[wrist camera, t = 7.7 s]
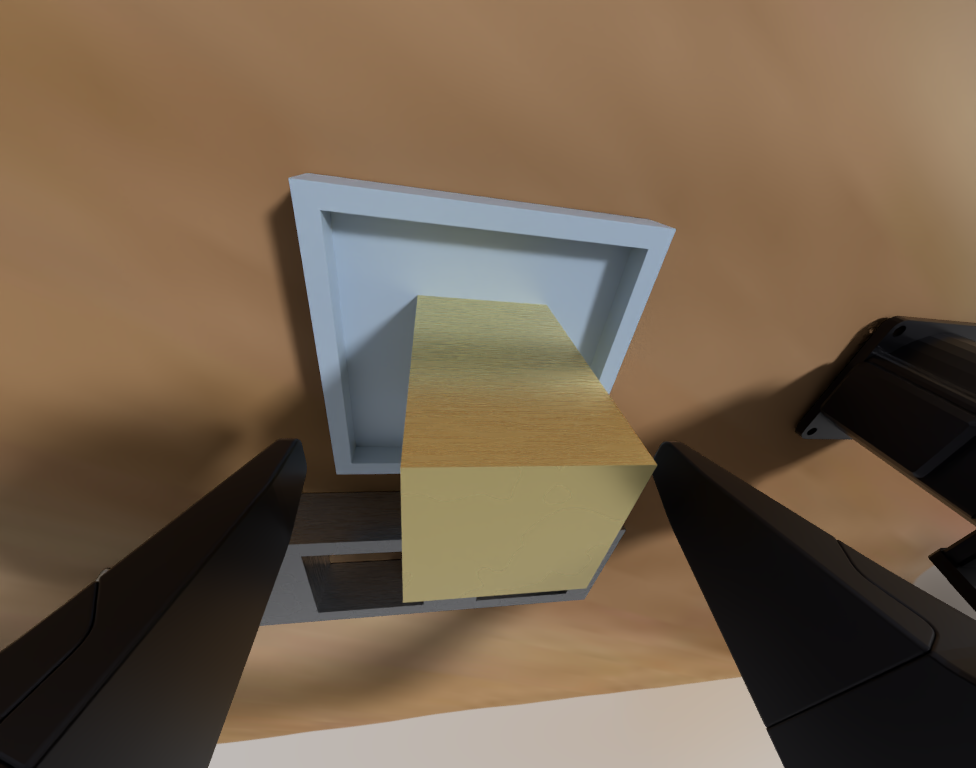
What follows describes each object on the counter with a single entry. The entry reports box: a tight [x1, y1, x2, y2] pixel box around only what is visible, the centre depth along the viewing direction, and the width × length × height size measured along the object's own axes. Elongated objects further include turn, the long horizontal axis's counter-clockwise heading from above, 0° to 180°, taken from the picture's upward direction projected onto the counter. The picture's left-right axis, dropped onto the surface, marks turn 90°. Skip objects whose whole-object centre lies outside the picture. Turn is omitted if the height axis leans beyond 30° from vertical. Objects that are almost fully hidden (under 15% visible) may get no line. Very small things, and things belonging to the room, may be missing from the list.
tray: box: [289, 173, 676, 474], centre depth 12 cm, size 10×10×2 cm
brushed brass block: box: [400, 295, 657, 603], centre depth 9 cm, size 4×4×7 cm
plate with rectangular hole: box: [260, 492, 626, 626], centre depth 18 cm, size 18×7×2 cm, turn 82°
